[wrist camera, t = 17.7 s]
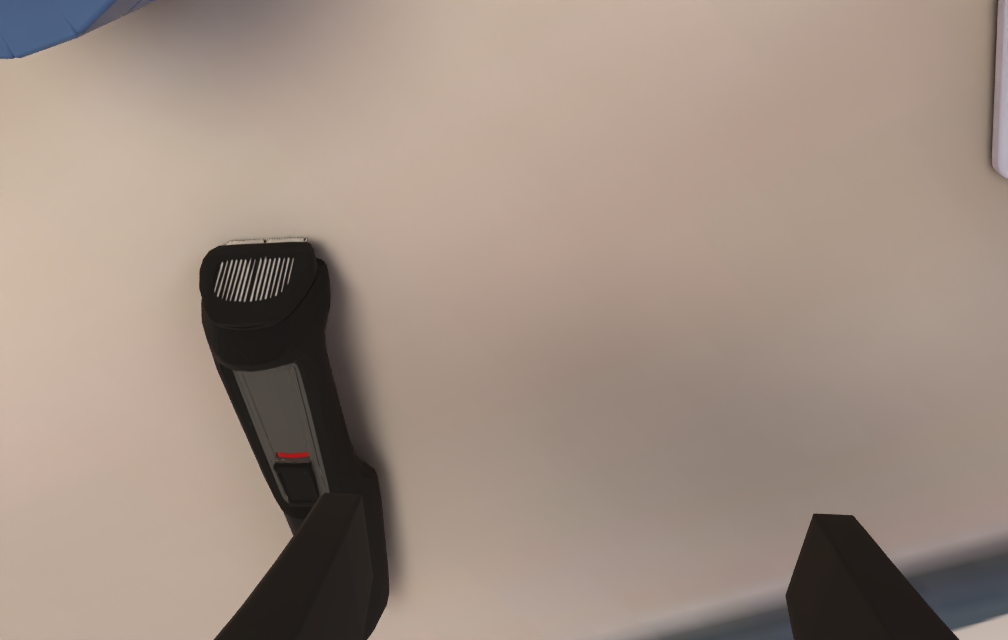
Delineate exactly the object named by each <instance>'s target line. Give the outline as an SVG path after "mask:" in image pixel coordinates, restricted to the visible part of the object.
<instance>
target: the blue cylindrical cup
mask: <svg viewBox="0 0 1008 640" xmlns="http://www.w3.org/2000/svg"><path fill="white" fill-rule="evenodd" d="M154 1H156V0H0V59H13V58H15V57H16V58H22V57H25V56H27V55H30V54H33V53H36V52H39V51H41V50H44V49H47V48H50V47H53V46H55V45H58V44H61V43H64V42H67V41H69V40H72V39H75V38H77V37H80V36H82V35H84V34H86V33H88V32H90V31H92V30H94V29H97V28H99V27H101V26H103V25H105V24H107V23H109V22H111V21H113V20H116V19H118V18H120V17H121V16H124V15H126V14H128V13H131V12H133V11H135V10H137V9H139V8H141V7H143V6H145V5H148V4H150V3H152V2H154Z"/></svg>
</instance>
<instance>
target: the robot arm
mask: <svg viewBox="0 0 1008 640" xmlns="http://www.w3.org/2000/svg"><path fill="white" fill-rule="evenodd" d="M992 164H993V168H994V169H995V170H996V171H997V172H998V173H999V174H1001V175H1002V176H1003V177H1005V178H1008V0H998V18H997V43H996V68H995V92H994V117H993V142H992ZM372 580H373V571H372V564H371V557H370V550H369V542H368V535H367V528H366V520H365V513H364V506H363V499H362V494H341V493H324V494H323V495H321V496H320V497H319V498H318V499H317V501H316V503H315V504H314V506H313V507H312V509H311V510H310V512H309V514H308V515H307V517H306V518H305V520H304V521H303V523H302V524H301V526H300V527H299V529H298V530H297V532H296V533H295V534H294V536H293V537H292V539H291V540H290V542H289V543H288V545H287V546H286V547H285V549H284V550H283V552H282V553H281V554H280V556H279V557H278V559H277V560H276V561H275V563H274V564H273V565H272V567H271V568H270V569H269V571H268V572H267V573H266V575H265V576H264V577H263V579H262V580H261V581H260V583H259V584H258V585H257V587H256V588H255V589H254V591H253V592H252V593H251V594H250V596H249V597H248V598H247V600H246V601H245V602H244V604H243V605H242V606H241V607H240V609H239V610H238V611H237V612H236V614H235V615H234V616H233V617H232V619H231V620H230V621H229V622H228V623H227V624H226V626H225V627H224V628H223V629H222V630H221V632H220V633H219V634H218V635H217V636H216V638H215V639H214V640H362V639H363V634H364V628H365V623H366V617H367V611H368V605H369V599H370V593H371V587H372ZM786 601H787V606H788V611H789V617H790V622H791V628H792V633H793V637H794V640H959V639H958V638H957V637H956V636H955V634H954V633H953V632H952V631H951V630H950V629H949V628H948V627H947V625H946V624H945V623H944V622H943V621H942V620H941V619H940V618H939V616H938V615H937V614H936V613H935V612H934V611H933V610H932V609H931V607H930V606H929V605H928V604H927V603H926V602H925V600H924V599H923V598H922V597H921V596H920V595H919V593H918V592H917V591H916V590H915V589H914V588H913V586H912V585H911V584H910V583H909V582H908V580H907V579H906V578H905V577H904V576H903V575H902V573H901V572H900V571H899V570H898V569H897V567H896V566H895V565H894V564H893V563H892V561H891V560H890V559H889V558H888V557H887V555H886V554H885V553H884V552H883V551H882V549H881V548H880V547H879V546H878V545H877V543H876V542H875V541H874V540H873V538H872V537H871V536H870V535H869V534H868V532H867V531H866V530H865V529H864V528H863V527H862V525H861V524H860V523H859V522H858V521H857V520H856V518H855V517H854V516H853V515H834V514H813V517H812V520H811V522H810V525H809V528H808V531H807V534H806V537H805V540H804V543H803V546H802V549H801V552H800V555H799V558H798V560H797V563H796V566H795V569H794V572H793V575H792V578H791V581H790V584H789V587H788V590H787V593H786Z"/></svg>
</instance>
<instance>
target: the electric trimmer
mask: <svg viewBox="0 0 1008 640" xmlns="http://www.w3.org/2000/svg"><path fill="white" fill-rule="evenodd" d="M307 238H308V237H307ZM199 289H200V292H201V296H202V302H201V308H202V324H203V327H204V331H205V335H206V338H207V341H208V344H209V347H210V349H211V352H212V355H213V358H214V361H215V365H216V368H217V370H218V373H219V375H220V377H221V380H222V382H223V384H224V386H225V389H226V391H227V393H228V395H229V398H230V400H231V402H232V405H233V407H234V409H235V411H236V414H237V416H238V418H239V421H240V423H241V425H242V427H243V430H244V432H245V434H246V436H247V439H248V441H249V443H250V446H251V448H252V450H253V452H254V455H255V457H256V459H257V461H258V464H259V466H260V468H261V471H262V473H263V475H264V477H265V479H266V481H267V483H268V485H269V487H270V489H271V491H272V493H273V495H274V497H275V499H276V501H277V503H278V504H279V506H280V507H281V509H282V510H283V512H284V514H285V517H286V519H287V521H288V524H289V526H290V528H291V531H292V533H293V535H294V534H295V533H296V532H297V530H298V529H299V527H300V526H301V524H302V523H303V521H304V520H305V518H306V517H307V515H308V514H309V512H310V510H311V509H312V507H313V506H314V504H315V503H316V501H317V499H318V498H319V497H320V496H321V495H323V494H324V493H341V494H362V499H363V506H364V513H365V520H366V528H367V535H368V542H369V550H370V557H371V564H372V571H373V580H372V587H371V593H370V599H369V605H368V611H367V617H366V623H365V628H364V634H363V639H362V640H367V639H368V638H369V636H370V635H371V633H372V632H373V631H374V629H375V627H376V625H377V623H378V621H379V619H380V617H381V615H382V613H383V611H384V609H385V607H386V605H387V601H388V596H389V577H388V563H387V553H386V542H385V532H384V522H383V512H382V502H381V495H380V489H379V482H378V477H377V474H376V471H375V469H374V468H372V467H371V466H369V465H368V464H367V463H365V462H364V461H363V460H361V459H360V458H358V457H357V456H356V455H355V453H354V451H353V448H352V445H351V442H350V439H349V436H348V432H347V428H346V424H345V420H344V417H343V413H342V409H341V405H340V402H339V398H338V394H337V390H336V387H335V383H334V379H333V375H332V371H331V368H330V364H329V359H328V355H327V350H326V344H325V327H326V322H327V318H328V313H329V308H330V279H329V272H328V267H327V265H326V263H325V262H324V261H323V260H322V259H319V258H316V257H315V254H314V250H313V248H312V246H311V244H309V243H308V242H307V239H306V240H305V242H304V241H303V237H302V239H301V237H300V238H299V239H298V237H297V239H296V238H294V239H293V238H292V239H291V238H289V240H288V238H287V239H285V238H284V240H283V238H282V239H279V240H278V238H277V240H275V239H274V240H273V238H272V240H270V239H269V240H268V239H267V242H266V243H264V241H263V239H262V240H260V239H259V241H258V239H257V241H256V240H254V241H253V240H252V241H250V240H249V241H248V240H247V241H245V240H244V242H243V240H242V242H241V241H239V242H238V241H237V242H236V241H234V242H233V241H232V242H231V241H229V242H228V243H227V244H226V245H223V246H218V247H216V248H214V249H212V250H211V251H209V252H208V254H207V255H206V256H205V258H204V259H203V262H202V265H201V268H200V282H199Z"/></svg>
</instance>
